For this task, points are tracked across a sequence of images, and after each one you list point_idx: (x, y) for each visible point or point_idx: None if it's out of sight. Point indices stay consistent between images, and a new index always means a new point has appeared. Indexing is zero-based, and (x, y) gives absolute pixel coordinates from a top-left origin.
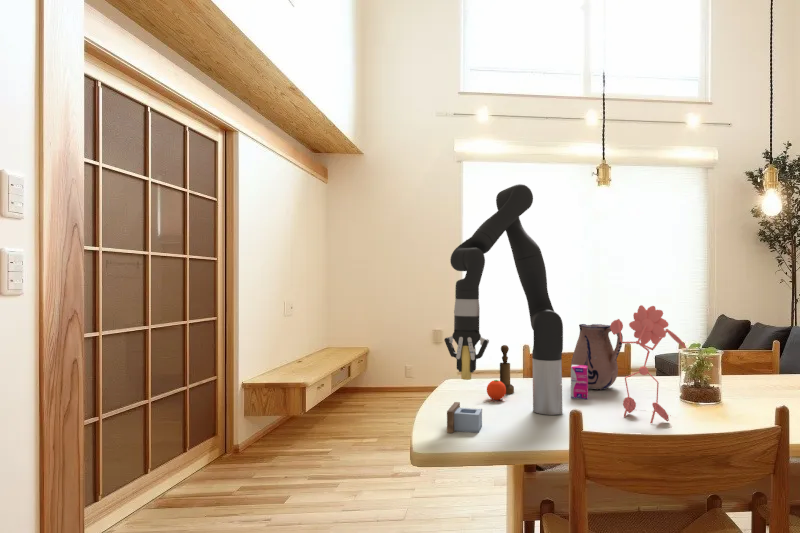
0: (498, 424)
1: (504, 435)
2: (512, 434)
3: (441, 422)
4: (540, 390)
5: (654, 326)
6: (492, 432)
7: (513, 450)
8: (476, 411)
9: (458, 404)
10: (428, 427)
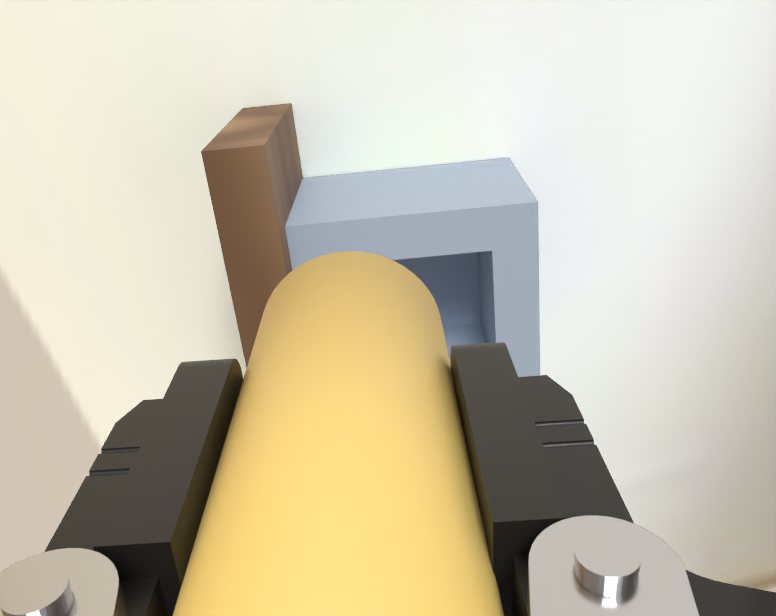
0: (648, 43)
1: (705, 338)
2: (765, 296)
3: (140, 167)
4: None
5: None
6: (613, 298)
7: (756, 576)
8: (500, 314)
9: (280, 232)
10: (114, 339)
